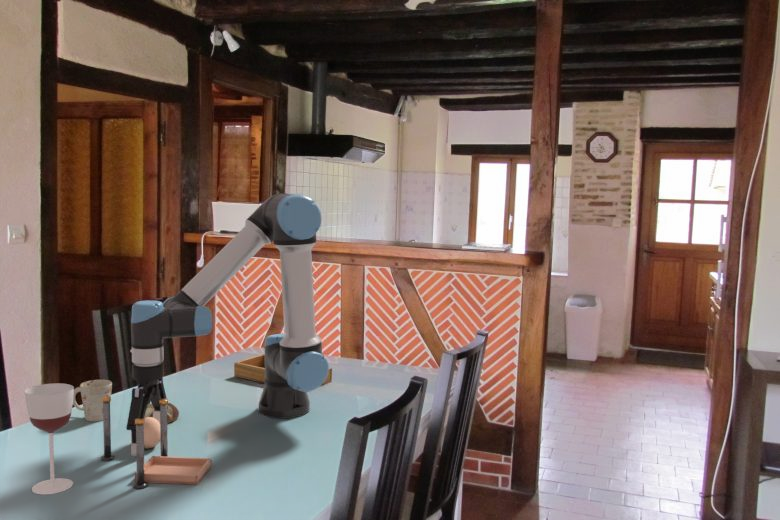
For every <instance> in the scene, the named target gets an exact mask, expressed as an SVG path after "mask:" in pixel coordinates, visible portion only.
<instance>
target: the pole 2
mask: <svg viewBox="0 0 780 520" xmlns="http://www.w3.org/2000/svg"><path fill="white" fill-rule="evenodd" d="M144 423H145V419H144V418H137V419H135V424H136V455H135V456H136V472H137V482H134V483H133V488H134V489H135V490H143V489H146V488H148V486H149V483H148V482H146V481H145V477H144V464H145V448H144ZM135 424H134V425H135Z"/></svg>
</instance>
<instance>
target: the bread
mask: <svg viewBox="0 0 780 520" xmlns="http://www.w3.org/2000/svg"><path fill="white" fill-rule="evenodd" d="M167 406H168V409H167V425H168V424H170V423H172V422H175V421H176V420H177V419H178V418H179V416H180V411H179V409H178V408H177V406H175V405H174V404H173V403H170V402H168V403H167ZM154 410H155V409H154V407H153V405H152V403H150V404H148V405H147V409H146V413H145V416H144V418H146V417H152V418H153V411H154ZM155 411H156V410H155Z"/></svg>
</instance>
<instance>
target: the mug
mask: <svg viewBox="0 0 780 520" xmlns="http://www.w3.org/2000/svg"><path fill="white" fill-rule="evenodd" d="M112 389H113V382H112V381H111V380H109V379H94V380H93V379H91V380H88V381H84V382H81V383H80V385H79V386H77V387H74V396H73V406H74V407H75V408H76V410H79V411H81V412H82V411H83V413H84V418H85V420H86V421H88V422H100V421H103V402H102V397H105V396H110V397H111V396H112ZM78 393H80V396H81V400H82V401H81V402H82V406H80V405H79V404H78V403H77V401H76V395H77V394H78ZM111 398H112V397H111Z"/></svg>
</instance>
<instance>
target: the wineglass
mask: <svg viewBox="0 0 780 520" xmlns="http://www.w3.org/2000/svg"><path fill="white" fill-rule="evenodd" d="M74 389H75V387H74V386H73V385H71V384H67V383H60V382H59V383H56V382H55V383H45V384H44V383H43V384H39V385H34V386H31V387H28V388H26V389H25V390H24V393H25V404H26V410H27V414H28V415H27V416H28V417H29V421H30V423H31V424H32V426H33V427H35V428H36V429H38V430H41V431H43V432H46V433H48V447H49V449H48V450H49V477H50V478H49V479H46V480H42V481H39V482H37V483H36V484H34V485H33V486H32V488H31V491H32V493H34V494H38V495H45V496H46V495H54V494H58V493H62V492H64V491H67V490H69V489H70V488H71V487H72V486H73V485H74V481H73V480H72V479H69V478H61V477H58V478H55V455H54V454H55V453H54V452H55V450H54V447H55V445H54V432H56V431H57V430H60V429H61V428H63V427H64V426H66V425H67V423H68V422H69V421H70V419H71V416H72V411H73V406H74V405H73V396H74Z"/></svg>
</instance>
